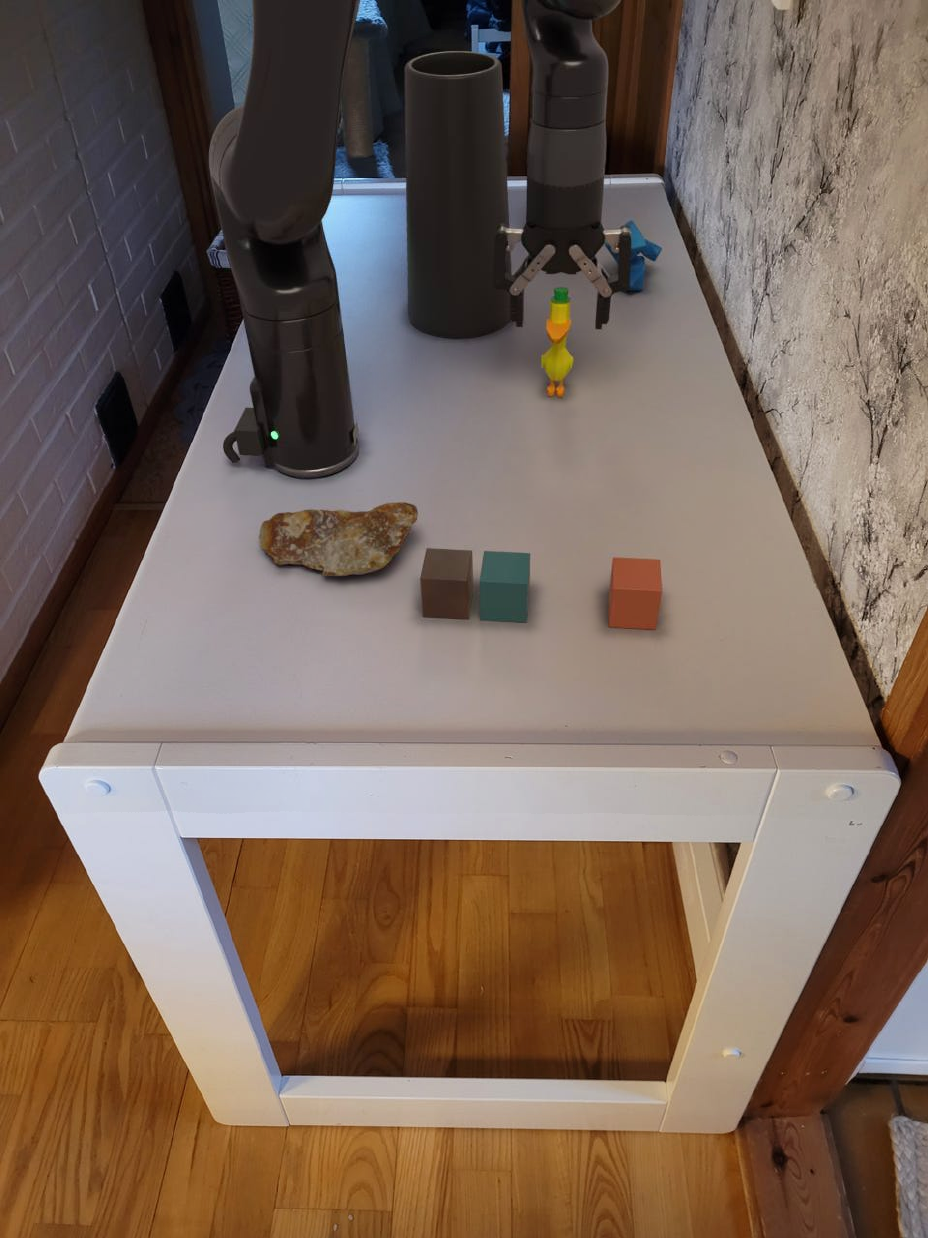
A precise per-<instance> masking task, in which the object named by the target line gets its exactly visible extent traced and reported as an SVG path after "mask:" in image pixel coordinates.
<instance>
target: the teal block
mask: <svg viewBox="0 0 928 1238" xmlns="http://www.w3.org/2000/svg"><path fill="white" fill-rule="evenodd" d="M530 579H531V553H530V552H516V551H496V550H493V551H492V550H484V551H483V555H482V562H481V569H480V575H479V618H480V619H479V620H480V621H489V622H490V621H491V622H506V623H507V622H509V623H527V621H528V613H529V612H528V611H529V609H528V608H529V601H530V600H529V598H530V585H531V584H530V583H531V582H530Z"/></svg>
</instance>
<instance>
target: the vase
mask: <svg viewBox="0 0 928 1238" xmlns="http://www.w3.org/2000/svg"><path fill="white" fill-rule="evenodd" d="M502 68H503V67H502V63H501V61H500V60H499V59H498V58H497V57H495V56H493V55H490V54H488V53H483V52H477V51H468V50H467V51H466V50H451V51H449V50H447V51H439V52H432V53H427V54H422V55H419V56H415V57H414V58H412V59H410V60H408V62H407V63H406V64H405V65H404V114H405V115H404V127H405V130H404V133H405V142H404V143H405V203H406V205H405V210H406V211H405V212H406V216H405V217H406V228H405V229H406V230H405V231H406V281H407V282H406V289H407V317H408V320H409V323H410V324H411V325H412V326H413V327H414V328H416V329H417V330H419V331H420V332H422V333H425V334H427V335H431V336H434V337H437V338H445V339H469V338H476V337H477V338H478V337H481V336H485V335H489V334H492V333H495V332H496V331H499V330H501V329H502V328H504V327H505V326H507V325H508V324H509V322H510V321H511V319H510V294H509V293H508V291H506V290H504V289H495V288H494V287H493V265H494V245H495V235H496V230H497V226H498V225H499V224H501V223H504V224H506V225H507V226H508V228H510V212H509V193H508V170H507V149H506V148H507V147H506V127H505V112H504V111H505V108H504V107H505V104H504V88H503V86H504V85H503V84H504V83H503V80H504V79H503V69H502ZM511 252H512V251H510V252H507V262H506V273H509V274H512V275H513V273H512V253H511Z"/></svg>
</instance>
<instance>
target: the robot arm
mask: <svg viewBox="0 0 928 1238" xmlns="http://www.w3.org/2000/svg"><path fill="white" fill-rule="evenodd" d="M621 1H622V0H520V7H521V13H522V20H523V26H524V33H525V39H526V43H527V49H528V54H529V59H530V65H531V76H530V77H531V78H530V105H529V106H530V108H529V109H530V110H529V111H530V112H529V130H528V136H527V145H526V200H525V201H526V203H525V205H526V207H525V224H524V226H523V228H512V227H509V228H508V226H507V225H506V224H504V223H501V224H499V225H498V226H497V230H496V235H495V245H494V265H493V287H494V288H495V289H504V290H506V291H508V293H509V294H510V319H511V320H510V321H511V323H515V327H516V328H523V327H524V321H525V319H524V317H525V288H526V287H527V286H528V285H529V284H530V283H531V282H532V281H533V280H534V279H535V277H536V276H537V275H538V274H539V273H540V271H542V272H544V273H545V274H546V275H556V274H561V273H562V274H565V275H569V276H570V275H577V273H580V272H582V273H583V274H584V276H585V277H586V278H587V279H588V281H589V282H590V283H592V285H593V286H594V287H595V289H596V291H597V293H596V294H597V295H596V306H595V307H596V308H595V324H594V325H595V327H594V328H595V330H603V325H607V324H608V323H609V320H610V313H611V301H612V300H611V299H612V296H613V295H614V294H616V293H619V292H621V293H626V292H629V291H628V290H629V288H630V268H631V228H630V227H629V226H628V225H625V224H623V225H621V226H620V227H619V228H618V229H605V228H604V226H603V224H602V218H603V217H602V216H603V205H604V203H603V202H604V189H605V173H606V165H607V164H606V163H607V130H606V129H607V128H606V119H607V118H606V117H607V116H606V115H607V99H608V87H609V60H608V56H607V53H606V52H605V50H604V49H603V48H602V47H601V45H600V44H599V43H598V40H597V39H596V38H595V36H594V33H593V27H592V26H593V25H592V21H594V20H598V19H601V18H603V17H605V16H607V15H609V14H610V13H611V12H612V11H614V10H615V9H616V8H617V7H618V5H619V4H620V3H621ZM360 3H361V0H251V9H252V49H251V60H250V66H249V67H250V68H249V75H248V80H247V85H246V91H245V96H244V101H243V104H242V105H239V106H237V107H235V108H233V109H232V110H231V111H229V112H228V113H227V114H225V116H224V117H223V118H221V120H220V121H219V123H218V124H217V126H216V128H215V129H214V131H213V133H212V136H211V139H210V143H209V148H208V166H209V168H208V169H209V174H210V180H211V186H212V191H213V196H214V200H215V201H214V202H215V205H216V211H217V215H218V219H219V224H220V228H221V233H222V238H223V241H224V246H225V251H226V255H227V260H228V263H229V264H228V265H229V267H230V271H231V274H232V277H233V281H234V283H235V288H236V292H237V295H238V300H239V305H240V310H241V315H242V320H243V325H244V329H245V330H244V331H245V334H246V340H247V343H248V344H247V345H248V350H249V354H250V360H251V366H252V370H253V378H252V379H251V382H250V384H249V393H250V398H251V403H252V407H244V410H243V412H242V414H241V416H240V417H239V420H238V422H237V424H236V426H235V427H234V429H233V431H232V432H230V433H229V434H227V436H226V437H225V438H224V440H223V444H222V449H223V453H224V454H225V456H226V458H227V459H228V460H229V461H230V463H231V464H232V465H233V464H236V463H238V462H240V461H241V457H240V456H249V457H263V462H264V466H265V468H271V469H275V470H277V471H279V472H280V473H282V474H284V475H286V476H287V475H288V476H291V477H295V478H303V479H309V478H310V479H311V478H320V477H326V476H330V475H333V474H335V473H338V472H340V471H342V470H344V469H346V468H347V467H348V466H350V465H351V464H352V463H353V462H354V461H355V460H356V459H357V456H358V454H359V450H360V449H359V442H358V434H359V425H358V424H359V423H358V419H356V420H355V415H354V408H353V397H352V391H351V383H350V382H351V381H350V375H349V365H348V357H347V350H346V341H345V333H344V325H343V317H342V309H341V301H340V294H339V286H338V277H337V271H336V267H335V264H334V261H333V258H332V255H331V252H330V249H329V245H328V241H327V237H326V234H325V231H324V225H323V219H324V217H325V215H326V214H327V211H328V209H329V206H330V203H331V202H332V201H331V200H332V197H333V192H334V185H335V174H336V166H337V165H336V163H337V152H338V139H339V127H340V117H341V105H342V96H343V90H344V89H343V88H344V80H345V76H346V75H345V73H346V68H347V63H348V58H349V55H350V48H351V44H352V40H353V36H354V32H355V27H356V23H357V18H358V13H359V8H360ZM520 242H521V245H522V246H523V248H524V249H525V250H526V252H527V253H528V255H527V256H526V257H525V258H524V259H523V262H522V264H521V265H520V266H519V268H517V270H516V272H515V273H514V274H513V273H512V274H509V273H506V262H507V252H512V251H514V250H515V246H516V244H517V243H520ZM605 243H608V244H609V245H610V246H611V250H612V252H614V253H618V264H617V274H614V275H612V276H610V275H609V273H608V272H607V270H606V269H605V268H604V266H603V264H602V262H601V260H600V258H599V257H598V256H597V253H599V251H600V250H601V249H602V248H603V246H605ZM235 443H236V444H237V445H236V446H237V450H238V453H237V452H236V450H235V449H234V444H235ZM238 454H239V455H238Z"/></svg>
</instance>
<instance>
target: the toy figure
mask: <svg viewBox="0 0 928 1238" xmlns="http://www.w3.org/2000/svg"><path fill="white" fill-rule="evenodd" d="M568 295H569V288H568V287H564V286H556V287H553V296H551V297H550V301H549V317H547V319H546V335H547V337H548V339H549V341H550V348H549V349H548V350H547V351H546V352H545V354H544V353H542V355H541V361H540V362H541V364H540V366H541V368H543V369H544V371H545V373H546V374H547V376H548V378H549V379H550V382H549V383H550V384H549V385H548V386H547V390H546V391H547V392H546V394H547V396H548V397H553V396H554V395H556V397H557V398H562V397H563V396H564V394H565V387H564V385H563V380H564V379H565V377H566V376H567V375H568V374H569V373H570V371H571V370H572V369H573V366H574V360H575V359H574V358H575V357H574V356H573V355H571V354H570V353H569V351H568V350H567V349H568V348H566V345H567V344H566V343H567V339H568V338H567V337H568V334H569V332H570V329H571V325H572V319H571V318H570V317H571V316H570V315H571V302H570V301H571V300H572V299H571V297H570V296H568ZM555 382H558V386H557V387H556V386H555Z"/></svg>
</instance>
